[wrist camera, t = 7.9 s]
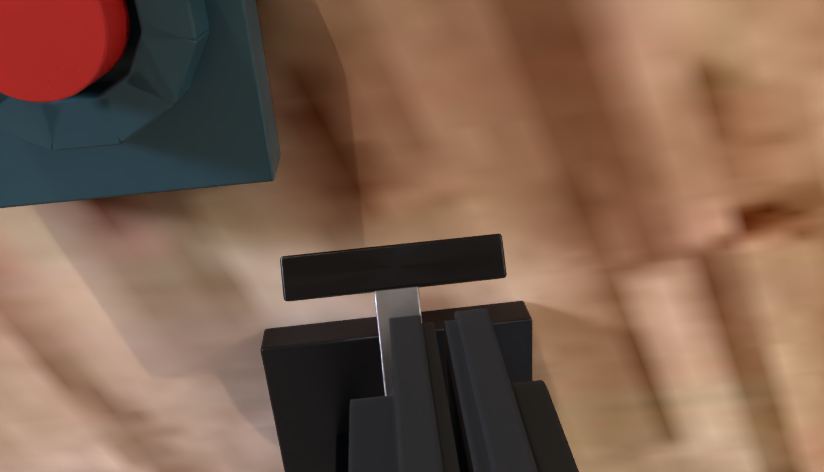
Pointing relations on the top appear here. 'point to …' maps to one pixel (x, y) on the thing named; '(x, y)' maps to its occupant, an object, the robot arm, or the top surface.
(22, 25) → the button
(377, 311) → the lever
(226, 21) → the button block
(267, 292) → the top surface
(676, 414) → the top surface
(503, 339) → the bracket
